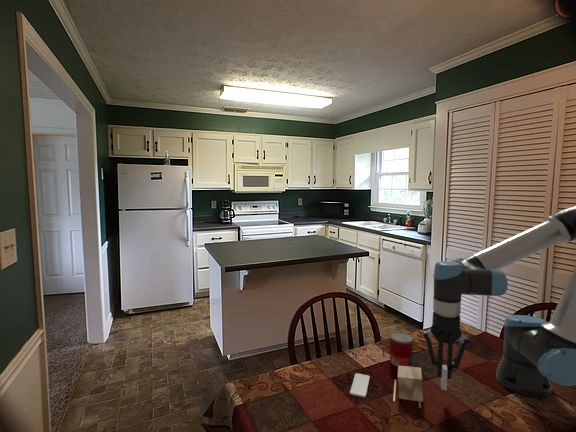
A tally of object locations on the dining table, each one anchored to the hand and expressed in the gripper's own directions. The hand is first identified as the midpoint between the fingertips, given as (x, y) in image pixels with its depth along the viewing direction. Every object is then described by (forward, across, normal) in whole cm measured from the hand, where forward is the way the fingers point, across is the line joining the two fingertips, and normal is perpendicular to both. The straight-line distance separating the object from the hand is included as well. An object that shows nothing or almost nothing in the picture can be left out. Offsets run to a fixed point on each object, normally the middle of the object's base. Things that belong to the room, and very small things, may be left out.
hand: (443, 387), depth 99 cm
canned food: (+5, +13, -18) cm, 23 cm away
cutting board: (+5, +13, 0) cm, 14 cm away
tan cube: (0, +6, 0) cm, 6 cm away
